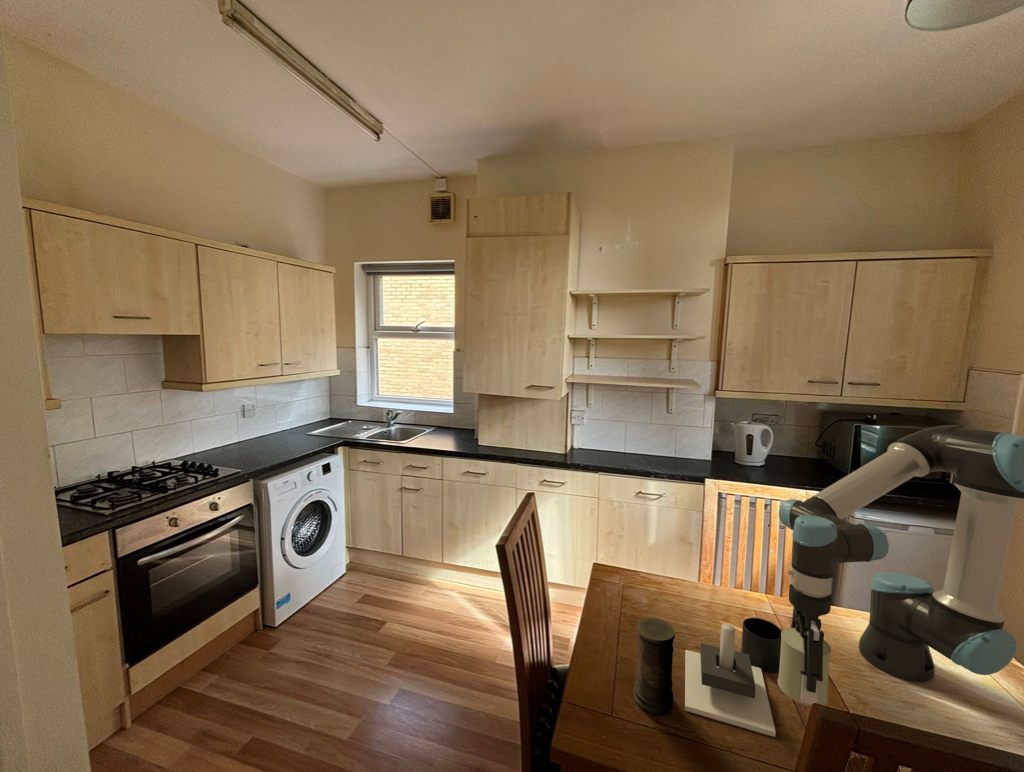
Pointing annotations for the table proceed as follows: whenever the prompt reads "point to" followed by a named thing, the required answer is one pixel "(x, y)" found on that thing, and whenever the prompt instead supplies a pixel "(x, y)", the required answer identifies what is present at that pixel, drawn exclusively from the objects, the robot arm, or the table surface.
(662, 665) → the container
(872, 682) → the table surface
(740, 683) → the grey square plate
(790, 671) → the can
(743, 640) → the mug
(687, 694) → the peg stand
